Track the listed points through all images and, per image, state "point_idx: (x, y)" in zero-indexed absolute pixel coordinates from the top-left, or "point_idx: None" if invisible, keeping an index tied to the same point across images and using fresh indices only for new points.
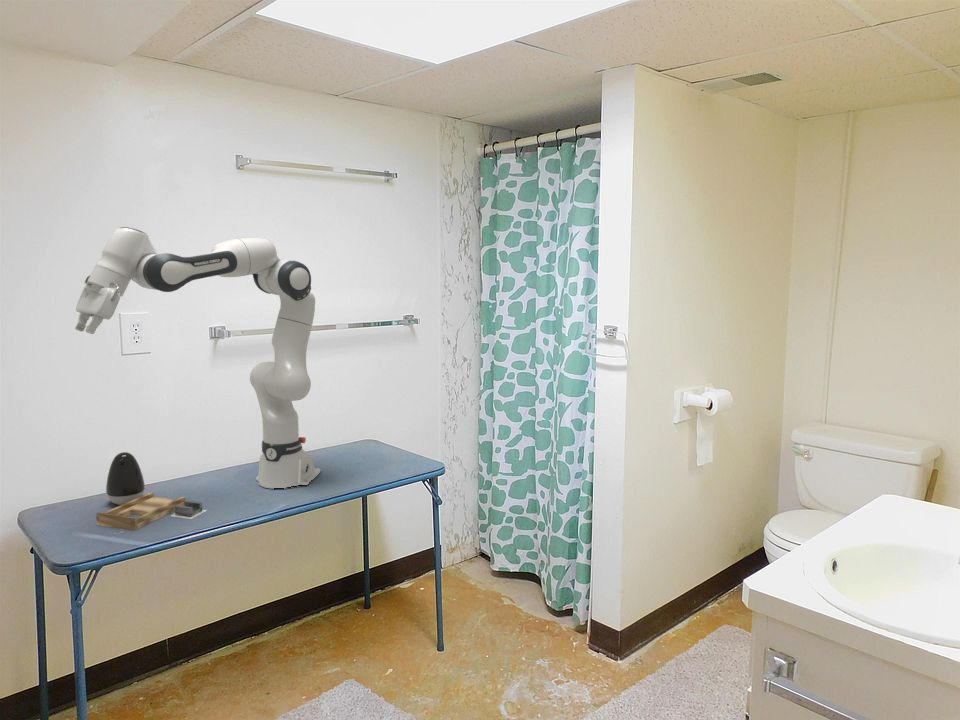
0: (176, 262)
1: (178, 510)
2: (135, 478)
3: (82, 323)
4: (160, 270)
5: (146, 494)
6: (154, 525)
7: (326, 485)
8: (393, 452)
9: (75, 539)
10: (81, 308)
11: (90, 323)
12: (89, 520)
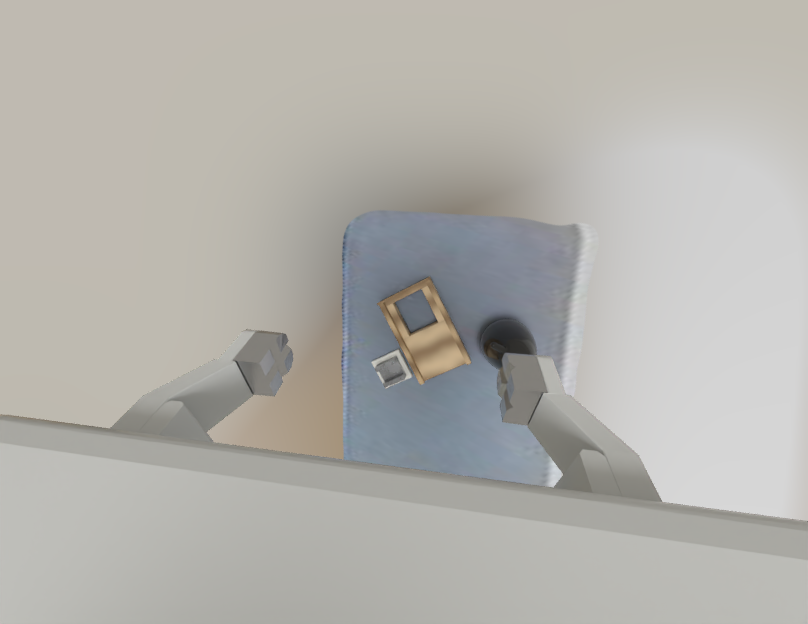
0: None
1: (390, 359)
2: (486, 355)
3: (539, 420)
4: None
5: (465, 355)
6: None
7: None
8: None
9: (414, 246)
10: (592, 535)
11: (202, 369)
12: (468, 279)
